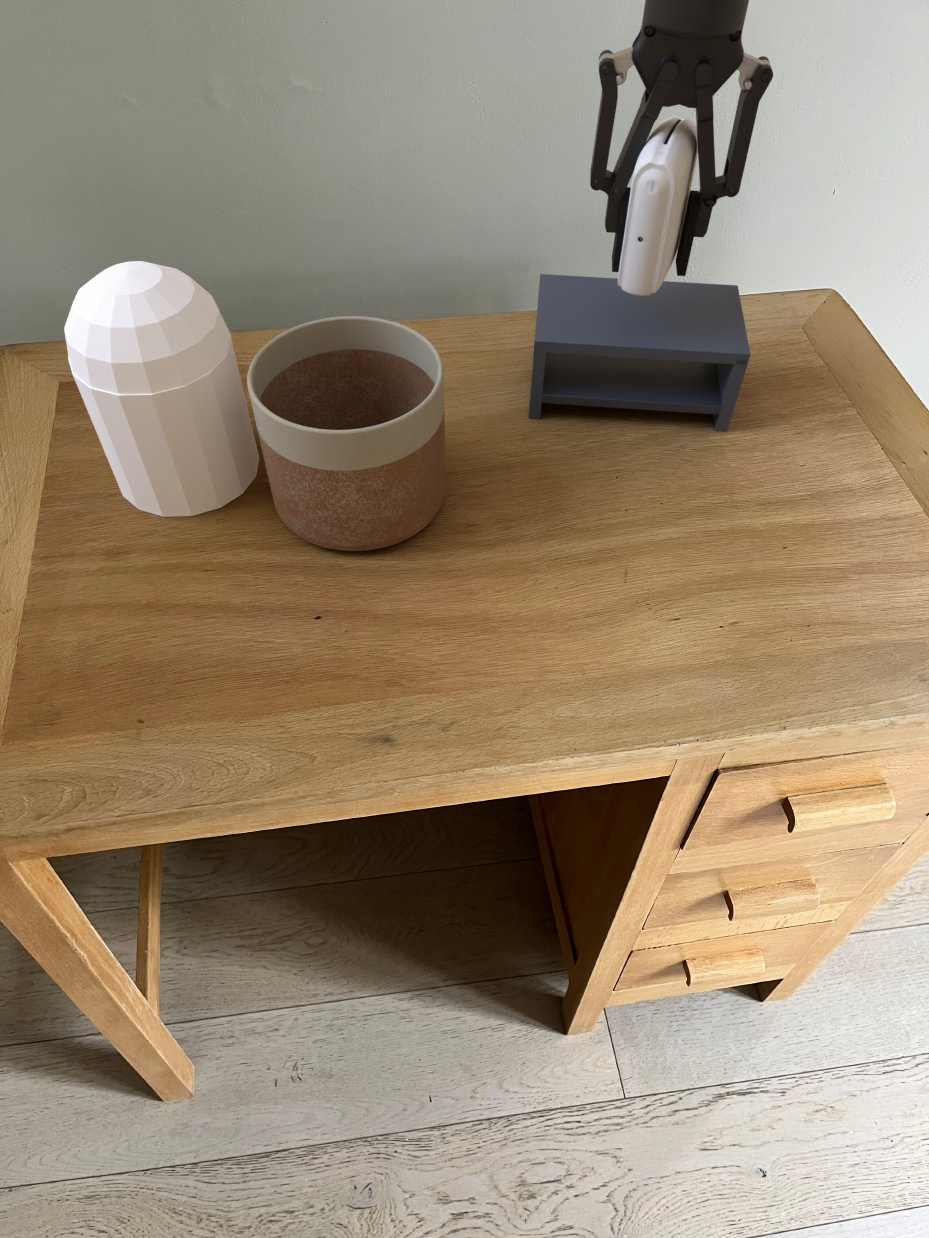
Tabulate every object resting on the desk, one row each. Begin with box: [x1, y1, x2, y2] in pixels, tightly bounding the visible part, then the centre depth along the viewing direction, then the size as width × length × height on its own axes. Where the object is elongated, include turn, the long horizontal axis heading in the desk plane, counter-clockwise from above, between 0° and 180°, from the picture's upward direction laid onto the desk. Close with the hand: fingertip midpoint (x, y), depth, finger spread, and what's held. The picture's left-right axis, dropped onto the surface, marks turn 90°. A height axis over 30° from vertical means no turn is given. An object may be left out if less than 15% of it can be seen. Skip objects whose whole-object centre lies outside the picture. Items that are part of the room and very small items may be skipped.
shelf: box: [528, 273, 751, 432], centre depth 87 cm, size 20×12×9 cm, turn 84°
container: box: [63, 260, 260, 518], centre depth 75 cm, size 14×13×20 cm
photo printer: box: [617, 115, 698, 296], centre depth 75 cm, size 10×4×12 cm, turn 158°
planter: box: [246, 315, 446, 552], centre depth 75 cm, size 16×16×14 cm
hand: (648, 266), depth 80 cm, fingers closed on photo printer, 5 cm apart
